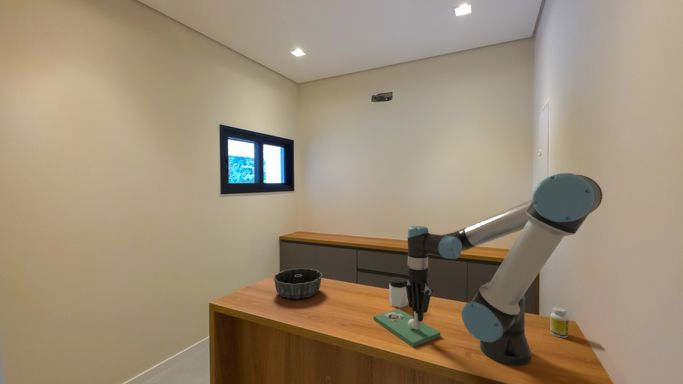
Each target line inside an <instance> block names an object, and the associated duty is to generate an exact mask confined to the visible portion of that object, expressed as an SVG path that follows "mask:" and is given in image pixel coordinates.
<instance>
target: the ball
mask: <svg viewBox="0 0 683 384" xmlns="http://www.w3.org/2000/svg"><path fill="white" fill-rule="evenodd" d="M408 326H409V327H410V328H411V329H414V319H410V320H409V321H408Z"/></svg>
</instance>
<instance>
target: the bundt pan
mask: <svg viewBox="0 0 683 384" xmlns="http://www.w3.org/2000/svg"><path fill="white" fill-rule="evenodd" d="M322 278H323V273H322V272H321V271H319V270H318V269H312V268H302V267H301V268H292V269H286V270H285V269H284V270H282V271H279V272H277V274H275V275H274V276H273V281H274V285H275V290H276V292H277V294H278V295H280V296H281V297H283V298H287V300H291V299H294V300H297V299H298V300H299V299H302V300H303V299H305V298H310V297H312V296H314V295H316V294H317V293H318V291H319V290H320V288H321V283H322V282H321V281H322Z"/></svg>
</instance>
